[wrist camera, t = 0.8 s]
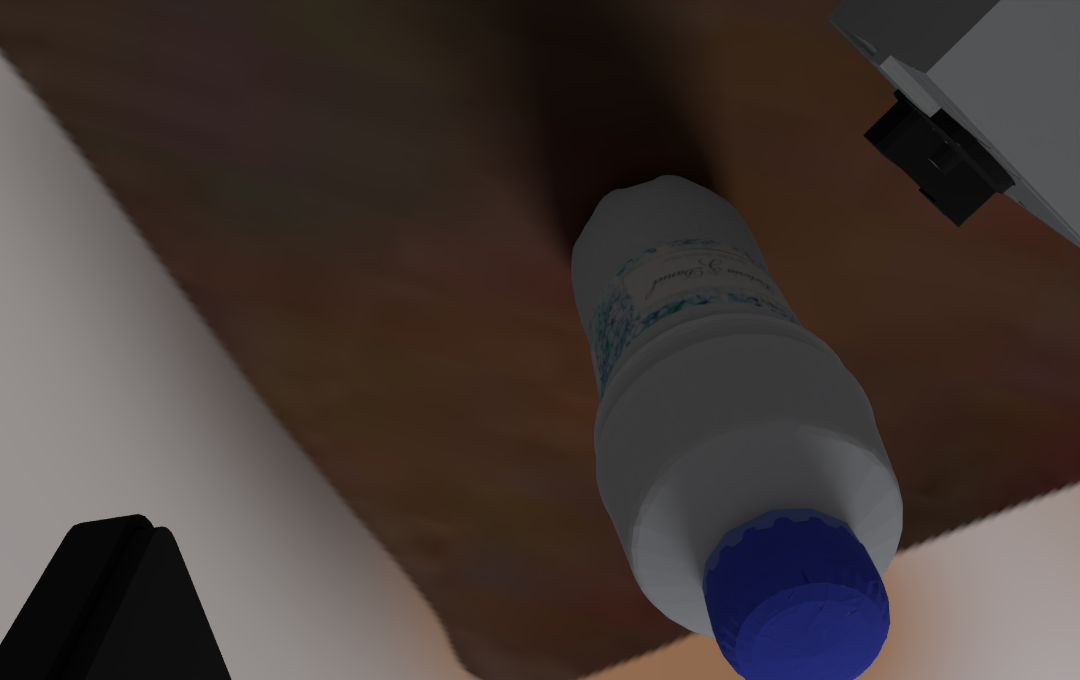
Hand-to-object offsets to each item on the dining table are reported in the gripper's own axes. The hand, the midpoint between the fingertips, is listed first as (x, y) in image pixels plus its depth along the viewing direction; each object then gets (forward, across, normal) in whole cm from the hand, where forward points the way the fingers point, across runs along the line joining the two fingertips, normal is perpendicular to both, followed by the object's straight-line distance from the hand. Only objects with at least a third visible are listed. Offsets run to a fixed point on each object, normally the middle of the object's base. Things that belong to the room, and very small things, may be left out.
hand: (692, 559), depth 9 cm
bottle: (+26, -3, +8) cm, 28 cm away
